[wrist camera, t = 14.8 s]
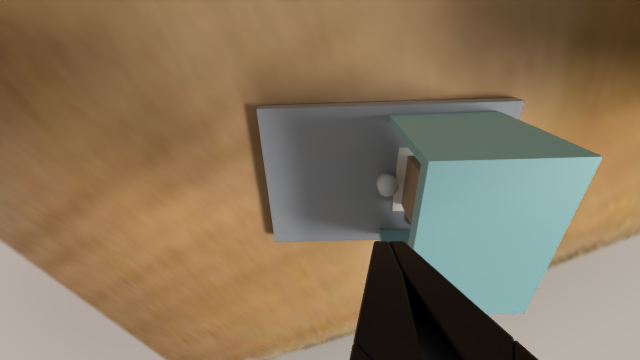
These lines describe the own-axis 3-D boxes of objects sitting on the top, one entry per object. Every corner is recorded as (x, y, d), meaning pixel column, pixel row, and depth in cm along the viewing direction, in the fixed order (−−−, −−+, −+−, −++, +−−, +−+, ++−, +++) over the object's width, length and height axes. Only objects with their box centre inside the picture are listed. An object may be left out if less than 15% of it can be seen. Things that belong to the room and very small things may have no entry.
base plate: (515, 97, 18) (536, 104, 16) (475, 229, 23) (488, 245, 21) (259, 105, 18) (252, 113, 17) (276, 234, 24) (273, 250, 22)
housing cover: (499, 111, 17) (603, 156, 11) (465, 232, 22) (524, 313, 16) (389, 114, 17) (428, 161, 11) (378, 234, 22) (402, 315, 16)
